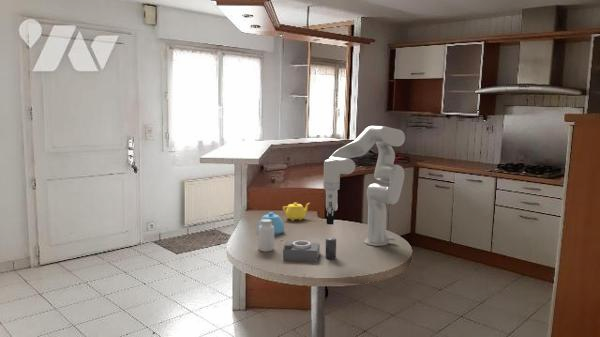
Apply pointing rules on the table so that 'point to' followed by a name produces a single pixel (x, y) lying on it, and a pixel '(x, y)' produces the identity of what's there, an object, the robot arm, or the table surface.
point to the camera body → (301, 251)
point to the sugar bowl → (274, 222)
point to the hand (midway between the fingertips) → (330, 221)
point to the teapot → (295, 211)
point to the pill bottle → (266, 235)
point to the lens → (330, 248)
